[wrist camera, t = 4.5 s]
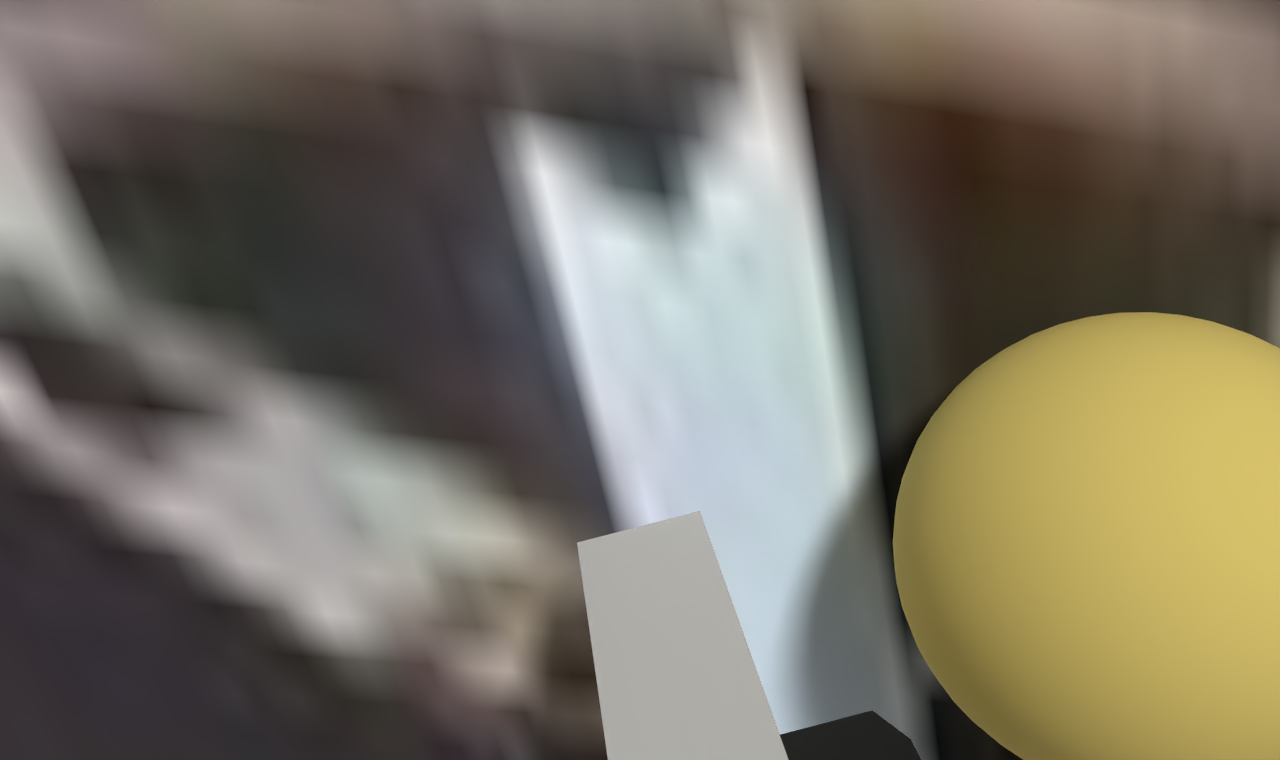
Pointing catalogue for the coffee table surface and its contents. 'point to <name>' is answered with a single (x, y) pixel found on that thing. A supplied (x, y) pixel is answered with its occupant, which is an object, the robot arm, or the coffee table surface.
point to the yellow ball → (1104, 542)
